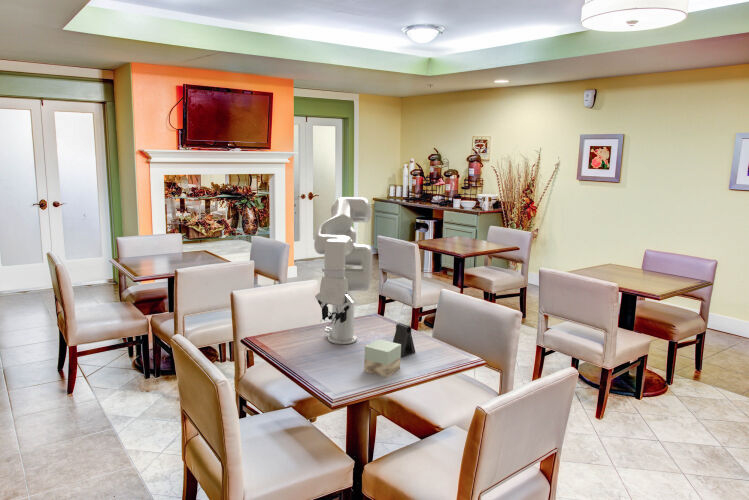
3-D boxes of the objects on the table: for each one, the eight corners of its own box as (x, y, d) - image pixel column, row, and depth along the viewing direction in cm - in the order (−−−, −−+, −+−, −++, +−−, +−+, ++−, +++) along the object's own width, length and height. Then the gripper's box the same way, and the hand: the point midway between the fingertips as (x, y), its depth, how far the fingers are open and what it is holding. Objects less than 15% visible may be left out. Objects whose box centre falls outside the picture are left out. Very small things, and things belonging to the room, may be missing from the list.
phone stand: (400, 357, 217) (401, 328, 215) (389, 353, 222) (390, 325, 219) (415, 352, 223) (416, 324, 221) (404, 348, 228) (406, 321, 226)
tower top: (364, 359, 202) (364, 346, 201) (378, 351, 210) (378, 338, 210) (387, 365, 197) (388, 352, 196) (400, 356, 205) (401, 344, 205)
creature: (323, 329, 195) (344, 323, 197) (320, 316, 193) (341, 310, 195) (318, 322, 202) (339, 316, 204) (315, 309, 201) (336, 303, 202)
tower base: (364, 371, 203) (364, 359, 202) (377, 363, 211) (377, 351, 210) (387, 378, 198) (387, 365, 197) (399, 369, 206) (400, 356, 206)
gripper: (308, 271, 196) (308, 318, 200) (350, 278, 188) (349, 327, 192) (320, 267, 203) (320, 313, 206) (360, 274, 195) (359, 321, 198)
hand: (334, 319), depth 199 cm, fingers closed on creature, 7 cm apart
